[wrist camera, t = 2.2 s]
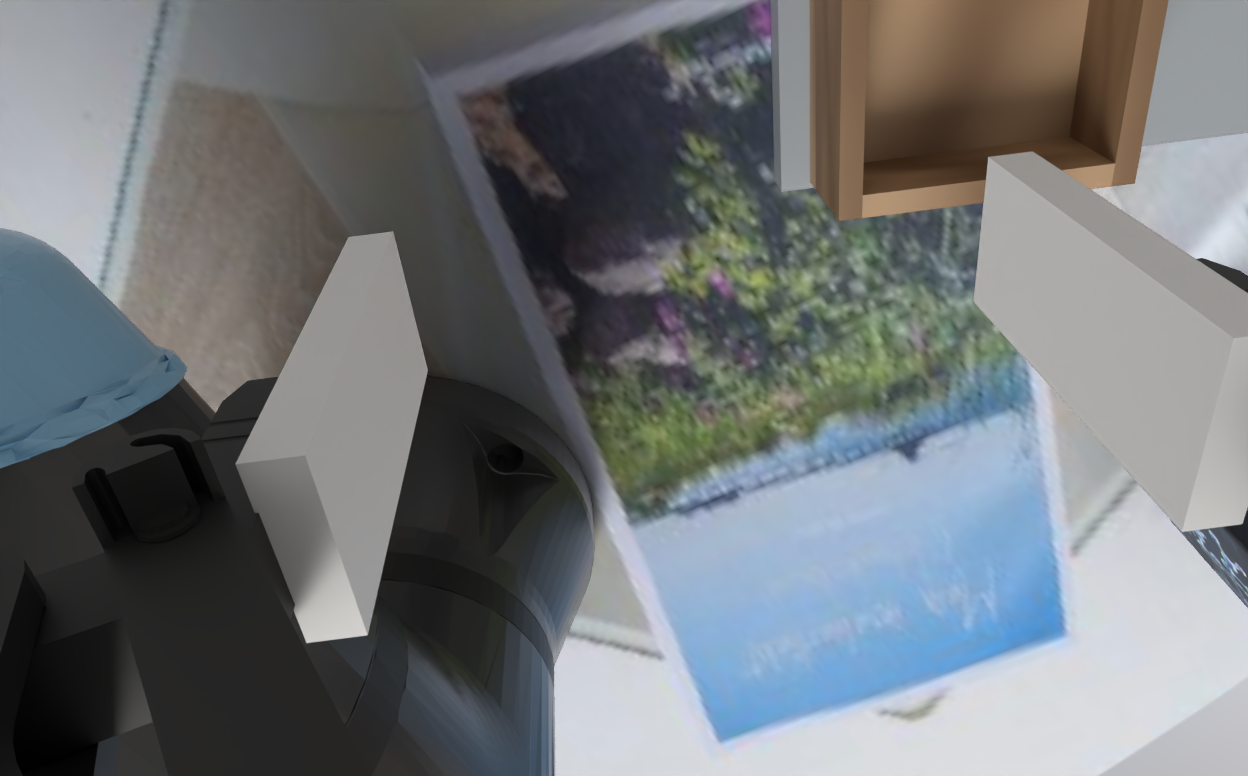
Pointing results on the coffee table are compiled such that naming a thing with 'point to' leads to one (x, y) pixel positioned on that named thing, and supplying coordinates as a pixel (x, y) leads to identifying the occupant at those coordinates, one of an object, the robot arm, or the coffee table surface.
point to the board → (1179, 105)
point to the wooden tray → (973, 95)
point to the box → (1225, 553)
